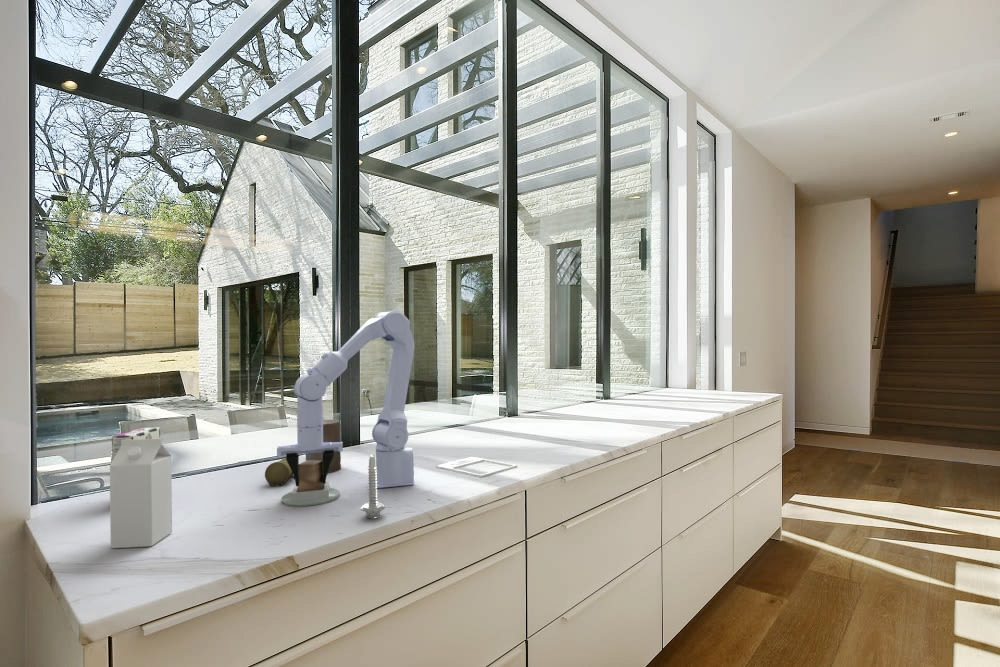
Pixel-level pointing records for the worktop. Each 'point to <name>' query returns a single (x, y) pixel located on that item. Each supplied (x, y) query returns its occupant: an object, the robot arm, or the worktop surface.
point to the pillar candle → (329, 435)
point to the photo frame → (471, 461)
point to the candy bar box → (134, 437)
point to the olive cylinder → (278, 472)
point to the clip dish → (310, 496)
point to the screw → (372, 492)
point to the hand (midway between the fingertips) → (311, 484)
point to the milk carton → (140, 494)
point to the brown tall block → (310, 476)
